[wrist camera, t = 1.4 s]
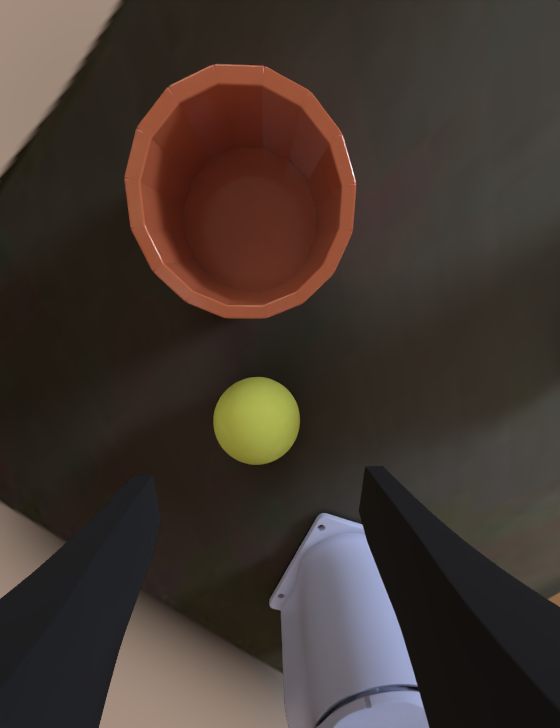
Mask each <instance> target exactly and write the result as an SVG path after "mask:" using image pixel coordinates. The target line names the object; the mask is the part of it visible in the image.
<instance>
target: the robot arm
mask: <svg viewBox="0 0 560 728" xmlns="http://www.w3.org/2000/svg"><path fill="white" fill-rule="evenodd" d="M359 513H360V517H361V521H362V524H359V523H355V522H352V521H349V520H346V519H343V518H340V517H337V516H333V515H330V514H327V513H321V514H319V515H318V516H317V518H316V519H315V521H314V523H313V525H312V526H311V528H310V530H309V532H308V533H307V535H306V537H305V539H304V540H303V542H302V544H301V546H300V547H299V549H298V551H297V552H296V554H295V556H294V558H293V559H292V561H291V563H290V565H289V566H288V568H287V570H286V572H285V573H284V575H283V577H282V579H281V580H280V582H279V584H278V585H277V587H276V589H275V591H274V592H273V594H272V596H271V598H270V600H269V605H270V607H271V608H273V609H276V610H280V611H281V630H282V655H283V677H284V678H283V681H284V704H285V712H286V718H287V723H288V726H289V728H560V607H559V606H557V605H556V604H554V603H552V602H551V601H549V600H547V599H546V598H544V597H543V596H541V595H540V594H538V593H537V592H535V591H534V590H532V589H531V588H529V587H528V586H526V585H525V584H523V583H522V582H520V581H519V580H517V579H516V578H514V577H513V576H511V575H510V574H508V573H507V572H505V571H504V570H503V569H501V568H500V567H498V566H497V565H496V564H494V563H493V562H492V561H490V560H489V559H488V558H486V557H485V556H484V555H482V554H481V553H480V552H478V551H477V550H476V549H474V548H473V547H472V546H470V545H469V544H468V543H467V542H465V541H464V540H463V539H462V538H460V537H459V536H458V535H457V534H456V533H454V532H453V531H452V530H451V529H450V528H448V527H447V526H446V525H445V524H444V523H443V522H441V521H440V520H439V519H438V518H437V517H436V516H435V515H433V514H432V513H431V512H430V511H429V510H428V509H427V508H426V507H425V506H424V505H423V504H421V503H420V502H419V501H418V500H417V499H416V498H415V497H414V496H413V495H412V494H411V493H410V492H409V491H408V490H407V489H406V488H405V487H404V486H403V485H401V484H400V483H399V482H398V481H397V480H396V479H395V478H394V477H393V476H392V475H391V474H390V473H389V472H388V471H387V470H386V469H385V468H384V467H383V466H371V467H365V472H364V479H363V486H362V493H361V500H360V507H359ZM160 522H161V518H160V512H159V507H158V501H157V496H156V490H155V485H154V479H153V475H135V476H133V477H132V478H131V479H130V480H129V481H128V482H127V483H126V484H125V485H124V486H123V487H122V488H121V489H120V490H119V491H118V492H117V493H116V494H115V495H114V496H113V497H112V498H111V499H110V500H109V501H108V502H107V503H106V504H105V505H104V506H103V507H102V509H101V510H100V511H99V512H98V513H97V514H95V515H94V516H93V517H92V518H91V519H90V520H89V521H88V522H87V523H86V524H85V525H84V526H83V527H82V528H81V529H80V530H79V531H78V532H77V533H76V534H75V535H74V536H73V537H72V538H71V539H70V540H69V541H68V542H66V543H65V544H64V545H63V546H62V547H61V548H60V549H59V550H58V551H57V552H56V553H55V554H54V555H52V556H51V557H50V558H49V559H48V560H47V561H46V562H45V563H43V564H42V565H41V566H40V567H39V568H38V569H37V570H35V571H34V572H33V573H32V574H31V575H29V576H28V577H27V578H26V579H25V580H23V581H22V582H21V583H20V584H18V585H17V586H16V587H15V588H13V589H12V590H11V591H10V592H8V593H7V594H6V595H5V596H3V597H2V598H1V599H0V728H99V724H100V720H101V716H102V712H103V709H104V705H105V701H106V697H107V693H108V689H109V686H110V682H111V678H112V675H113V671H114V667H115V663H116V660H117V656H118V652H119V649H120V646H121V643H122V640H123V637H124V634H125V630H126V628H127V625H128V622H129V620H130V617H131V614H132V611H133V609H134V606H135V603H136V600H137V598H138V595H139V592H140V589H141V586H142V584H143V581H144V578H145V575H146V572H147V570H148V567H149V564H150V561H151V558H152V555H153V552H154V548H155V544H156V540H157V536H158V531H159V527H160ZM320 525H323V526H320Z"/></svg>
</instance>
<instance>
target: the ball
mask: <svg viewBox="0 0 560 728" xmlns="http://www.w3.org/2000/svg"><path fill="white" fill-rule="evenodd" d="M213 424H214V431H215V435H216V438H217V440H218V442H219V444H220V445H221V447H222V448H223V449H224V450H225V452H226V453H227V454H229V455H230V456H231V457H233V458H234V459H236V460H238V461H240V462H243V463H246V464H252V465H260V464H266V463H269V462H272V461H274V460H277V459H278V458H280V457H281V456H283V455H284V454H285V453H286V452H287V451H288V450H289V449H290V448H291V446H292V445H293V443H294V442H295V440H296V437H297V435H298V431H299V427H300V414H299V409H298V406H297V403H296V401H295V399H294V397H293V396H292V394H291V393H290V392H289V391H288V390H287V389H286V388H285V387H284V386H283V385H281V384H280V383H278V382H276V381H274V380H272V379H269V378H264V377H251V378H246V379H243V380H240V381H238V382H236V383H234V384H233V385H231V386H230V387H229V388H228V389H227V390H226V391H225V392H224V393H223V394H222V396H221V397H220V399H219V401H218V403H217V405H216V408H215V412H214V418H213Z"/></svg>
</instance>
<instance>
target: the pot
mask: <svg viewBox="0 0 560 728" xmlns="http://www.w3.org/2000/svg"><path fill="white" fill-rule="evenodd" d="M137 128H138V129H136V132H135V136H134V140H133V144H132V148H131V152H130V156H129V160H128V165H127V169H126V173H125V180H124V181H125V189H126V197H127V204H128V212H129V220H130V227H131V230H132V233H133V235H134V236H135V238H136V240H137V242H138V244H139V246H140V248H141V250H142V252H143V254H144V256H145V258H146V260H147V262H148V264H149V266H150V268H151V269H152V271H154V274H155V275H157V276H158V277H159V278H160V279H161V280H162V281H163V282H164V283H165V284H166V285H167V286H168V287H169V288H171V289H172V290H173V291H174V292H175V293H176V294H177V295H178V296H179V297H180V298H181V299H182V300H184V301H185V302H187V303H188V304H190V305H193V306H195V307H198V308H200V309H203V310H205V311H207V312H210V313H212V314H215V315H217V316H220V317H222V318H226V319H265V318H269V317H271V316H274V315H276V314H279V313H281V312H284V311H286V310H289V309H291V308H294V307H296V306H298V305H301V304H302V303H304V302H305V301H306V300H307V299H308V298H309V297H310V296H311V295H312V294H313V293H315V292H316V291H317V290H318V289H319V288H320V287H321V286H322V285H323V284H324V283H325V282H326V281H327V280H328V279H329V278H330V277H331V276H332V275H333V273H334V272H335V270H336V268H337V266H338V263H339V261H340V259H341V257H342V255H343V253H344V250H345V248H346V246H347V244H348V242H349V240H350V237H351V235H352V231H353V222H354V209H355V196H356V180H355V176H354V173H353V169H352V166H351V162H350V158H349V155H348V151H347V148H346V144H345V141H344V137H343V135H342V132H341V131H340V129H339V128H338V127H337V125H336V124H335V123H334V121H333V120H332V119H331V118H330V116H329V115H328V114H327V112H326V111H325V110H324V108H323V107H322V106H321V104H320V103H319V102H318V100H317V99H316V98H315V96H314V95H313V94H312V93H311V92H310V91H309V90H308V89H306V88H304V87H302V86H300V85H298V84H297V83H295V82H293V81H291V80H289V79H288V78H286V77H284V76H282V75H280V74H279V73H277V72H275V71H273V70H271V69H270V68H268V67H264V66H255V65H228V64H214V65H211V66H209V67H207V68H205V69H202V70H200V71H198V72H196V73H194V74H192V75H190V76H188V77H186V78H184V79H182V80H180V81H178V82H176V83H174V84H172V85H170V86H169V88H166V90H165V91H164V92H163V94H162V95H161V96H160V97H159V99H158V100H157V101H156V103H155V104H154V105H153V107H152V108H151V109H150V111H149V112H148V113H147V115H146V116H145V117H144V118H143V120H142V121H141V122H140V124H139V125H138V127H137Z"/></svg>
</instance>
